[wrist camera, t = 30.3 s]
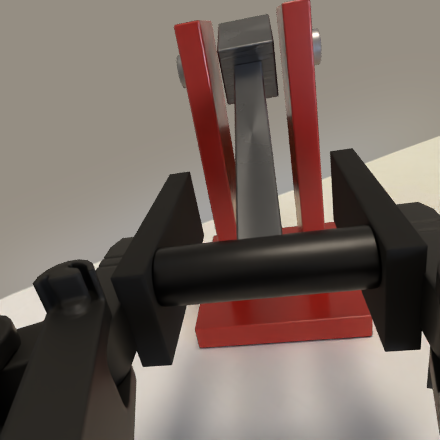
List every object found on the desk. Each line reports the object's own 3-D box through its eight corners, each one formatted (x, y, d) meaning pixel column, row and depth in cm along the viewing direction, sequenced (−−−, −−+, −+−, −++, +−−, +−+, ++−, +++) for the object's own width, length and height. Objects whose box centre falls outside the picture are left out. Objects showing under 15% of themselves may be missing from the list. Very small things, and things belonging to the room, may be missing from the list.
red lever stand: (373, 336, 17) (372, -19, 11) (199, 348, 18) (114, 34, 12) (335, 237, 25) (324, -1, 19) (216, 250, 26) (170, 30, 20)
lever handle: (376, 311, 9) (388, 248, 7) (171, 327, 10) (140, 273, 8) (303, 61, 18) (301, 6, 16) (199, 80, 19) (187, 29, 17)
